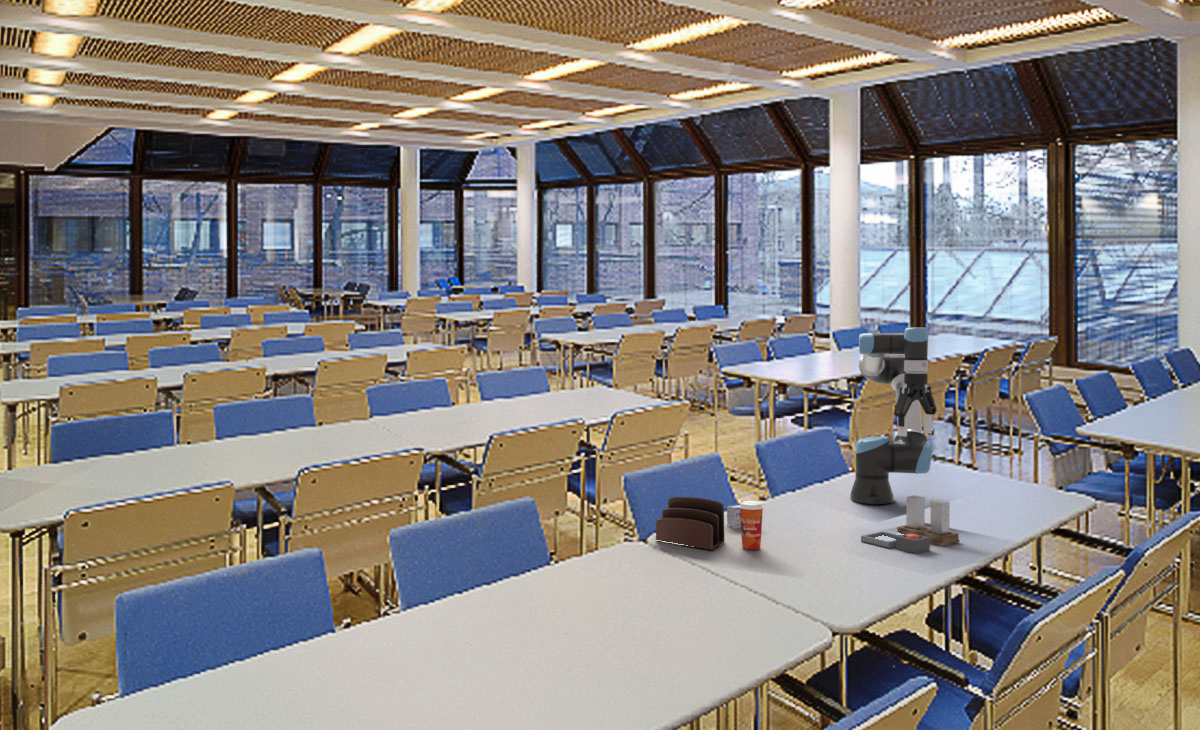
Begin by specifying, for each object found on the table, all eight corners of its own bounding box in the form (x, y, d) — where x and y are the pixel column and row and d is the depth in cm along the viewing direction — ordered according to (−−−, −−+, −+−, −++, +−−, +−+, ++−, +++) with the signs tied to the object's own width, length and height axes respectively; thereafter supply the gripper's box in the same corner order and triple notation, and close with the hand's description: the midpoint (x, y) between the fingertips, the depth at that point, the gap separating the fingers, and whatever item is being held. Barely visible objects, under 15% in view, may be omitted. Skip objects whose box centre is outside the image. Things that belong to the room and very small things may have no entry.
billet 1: (906, 533, 282) (906, 496, 281) (913, 531, 284) (914, 495, 283) (916, 535, 278) (917, 498, 278) (924, 533, 280) (924, 497, 280)
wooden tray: (896, 536, 282) (896, 527, 282) (913, 532, 287) (913, 523, 287) (942, 546, 268) (942, 537, 268) (959, 542, 273) (959, 533, 273)
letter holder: (669, 536, 285) (669, 494, 284) (725, 543, 274) (725, 499, 274) (655, 543, 276) (655, 499, 275) (712, 550, 266) (712, 505, 265)
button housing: (895, 549, 265) (896, 536, 265) (910, 545, 269) (910, 533, 269) (915, 553, 260) (915, 540, 259) (929, 550, 263) (929, 537, 263)
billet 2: (930, 538, 274) (930, 501, 274) (938, 536, 276) (938, 499, 276) (941, 541, 271) (941, 503, 270) (949, 539, 273) (949, 501, 272)
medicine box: (734, 533, 287) (734, 508, 286) (726, 531, 291) (726, 505, 290) (753, 531, 290) (753, 505, 290) (745, 528, 294) (745, 503, 294)
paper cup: (736, 549, 267) (736, 504, 266) (741, 543, 274) (741, 499, 273) (761, 551, 264) (761, 506, 263) (766, 545, 271) (766, 501, 271)
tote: (860, 541, 275) (860, 535, 275) (882, 537, 281) (882, 531, 281) (888, 548, 266) (888, 542, 266) (910, 543, 272) (910, 537, 272)
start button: (904, 539, 265) (904, 535, 265) (911, 538, 267) (911, 533, 267) (914, 542, 262) (914, 537, 262) (921, 540, 264) (921, 535, 264)
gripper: (902, 374, 283) (901, 438, 284) (947, 371, 297) (947, 432, 298) (883, 373, 289) (882, 436, 290) (928, 371, 303) (928, 430, 304)
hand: (915, 434), depth 294 cm, fingers open, 13 cm apart
